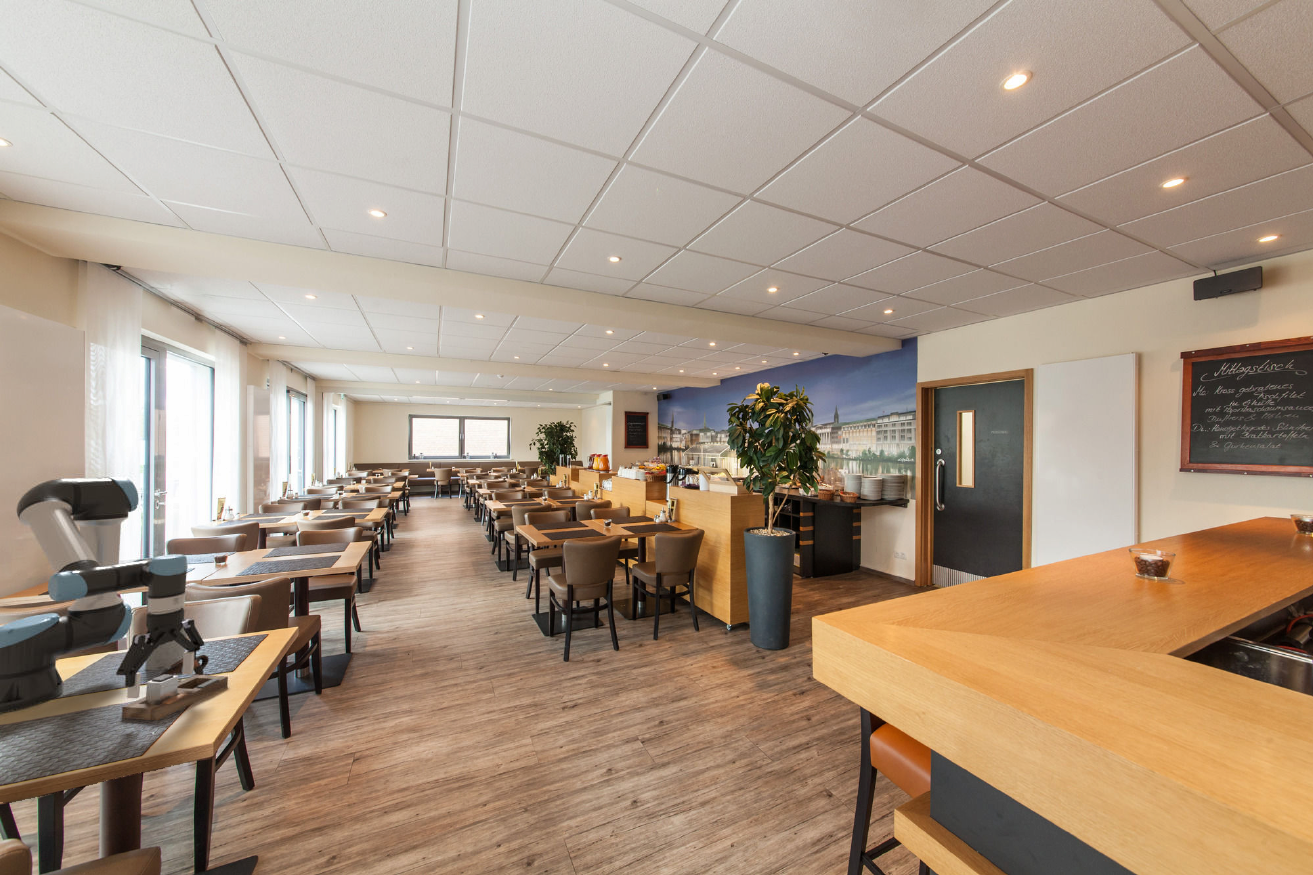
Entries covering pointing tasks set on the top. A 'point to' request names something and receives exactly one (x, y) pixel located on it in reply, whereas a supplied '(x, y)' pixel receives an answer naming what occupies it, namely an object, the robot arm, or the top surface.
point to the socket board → (176, 698)
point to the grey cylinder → (165, 655)
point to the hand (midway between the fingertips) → (161, 685)
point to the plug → (161, 689)
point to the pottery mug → (178, 665)
